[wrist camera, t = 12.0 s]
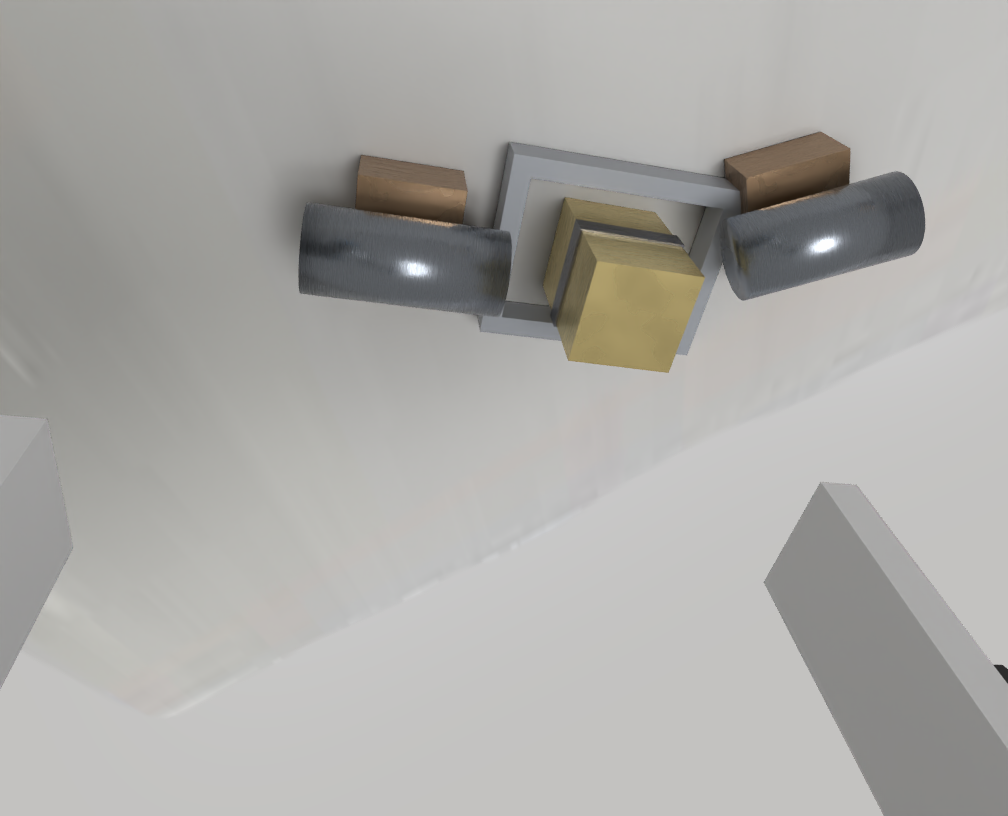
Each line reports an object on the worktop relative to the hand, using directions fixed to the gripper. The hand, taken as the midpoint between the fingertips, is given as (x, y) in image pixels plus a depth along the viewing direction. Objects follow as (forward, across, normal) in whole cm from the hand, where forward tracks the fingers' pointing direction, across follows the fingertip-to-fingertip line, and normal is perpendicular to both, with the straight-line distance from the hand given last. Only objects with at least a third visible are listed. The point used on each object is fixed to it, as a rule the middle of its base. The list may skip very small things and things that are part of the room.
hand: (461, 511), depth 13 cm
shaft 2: (+27, +19, -1) cm, 33 cm away
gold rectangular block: (+27, +10, -5) cm, 29 cm away
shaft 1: (+27, 0, -5) cm, 27 cm away
